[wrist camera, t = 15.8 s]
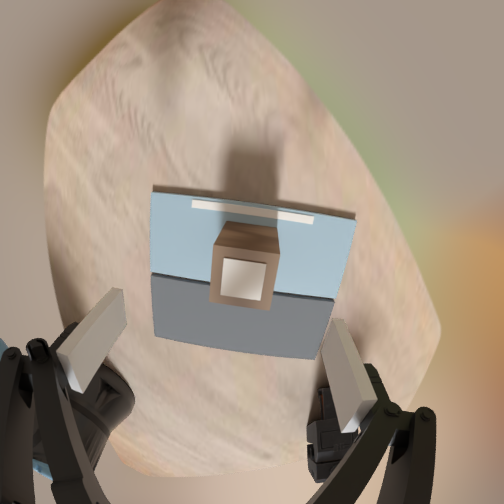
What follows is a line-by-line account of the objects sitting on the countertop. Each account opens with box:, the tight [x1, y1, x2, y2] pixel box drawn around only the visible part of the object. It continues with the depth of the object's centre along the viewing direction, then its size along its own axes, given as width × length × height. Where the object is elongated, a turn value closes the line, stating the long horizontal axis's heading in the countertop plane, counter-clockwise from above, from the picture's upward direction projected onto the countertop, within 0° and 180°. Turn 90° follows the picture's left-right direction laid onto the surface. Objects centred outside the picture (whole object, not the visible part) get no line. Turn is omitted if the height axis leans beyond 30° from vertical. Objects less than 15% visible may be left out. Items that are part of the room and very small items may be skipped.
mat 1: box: [150, 191, 357, 299], centre depth 28 cm, size 21×9×1 cm, turn 82°
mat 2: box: [151, 274, 335, 360], centre depth 31 cm, size 21×9×1 cm, turn 83°
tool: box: [307, 388, 358, 483], centre depth 34 cm, size 6×19×15 cm, turn 6°
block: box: [209, 221, 280, 311], centre depth 24 cm, size 5×5×7 cm
